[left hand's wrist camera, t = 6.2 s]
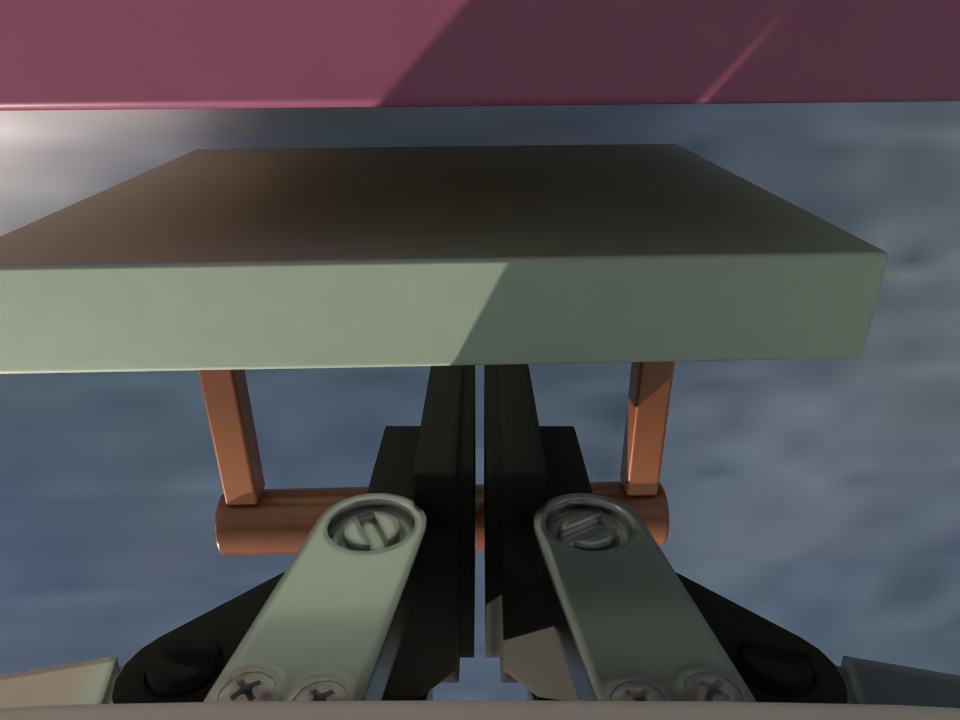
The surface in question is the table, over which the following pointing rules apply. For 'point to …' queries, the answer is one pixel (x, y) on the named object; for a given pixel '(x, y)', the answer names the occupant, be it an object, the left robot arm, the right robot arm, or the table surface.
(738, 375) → the table surface
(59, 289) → the drawer
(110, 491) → the table surface
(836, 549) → the table surface
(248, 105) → the cabinet
